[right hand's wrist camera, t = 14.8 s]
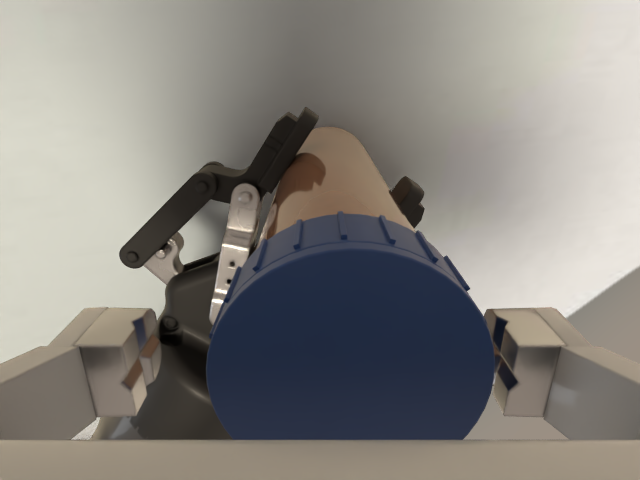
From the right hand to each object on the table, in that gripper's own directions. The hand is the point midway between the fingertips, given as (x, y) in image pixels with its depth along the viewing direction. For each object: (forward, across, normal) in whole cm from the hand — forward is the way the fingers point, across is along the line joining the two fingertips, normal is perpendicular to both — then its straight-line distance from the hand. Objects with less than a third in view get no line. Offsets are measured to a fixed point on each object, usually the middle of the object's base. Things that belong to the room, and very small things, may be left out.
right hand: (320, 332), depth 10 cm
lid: (-2, -1, 0) cm, 2 cm away
